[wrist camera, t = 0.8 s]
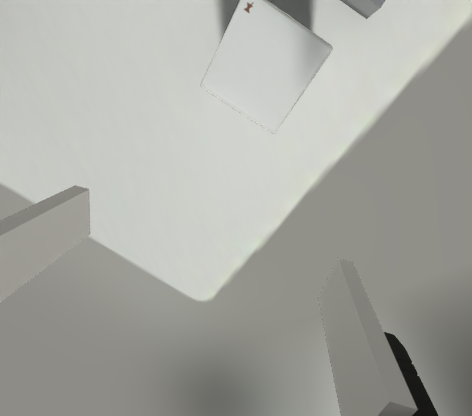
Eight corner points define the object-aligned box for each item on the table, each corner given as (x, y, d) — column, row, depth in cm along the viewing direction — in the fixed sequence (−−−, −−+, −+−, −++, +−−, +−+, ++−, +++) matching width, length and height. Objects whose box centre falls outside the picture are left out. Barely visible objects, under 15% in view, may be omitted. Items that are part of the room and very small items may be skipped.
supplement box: (224, 87, 32) (195, 85, 20) (258, 23, 28) (246, -22, 17) (275, 121, 32) (274, 137, 21) (313, 62, 29) (336, 44, 18)
